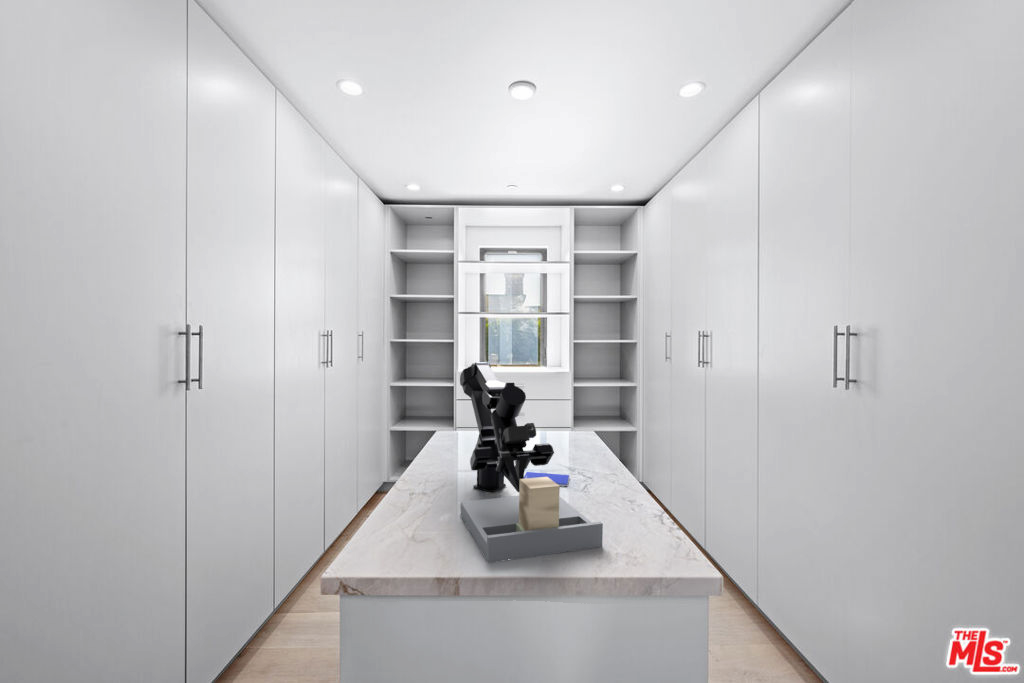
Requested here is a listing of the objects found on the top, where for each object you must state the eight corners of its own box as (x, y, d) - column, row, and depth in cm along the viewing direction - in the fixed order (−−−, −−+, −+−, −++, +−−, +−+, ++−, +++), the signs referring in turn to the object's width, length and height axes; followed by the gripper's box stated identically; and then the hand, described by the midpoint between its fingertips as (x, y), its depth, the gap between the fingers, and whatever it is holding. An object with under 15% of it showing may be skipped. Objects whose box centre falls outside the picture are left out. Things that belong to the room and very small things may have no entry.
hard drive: (521, 479, 128) (567, 483, 126) (526, 471, 136) (569, 474, 134) (521, 485, 128) (567, 489, 126) (526, 476, 136) (569, 479, 134)
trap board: (460, 514, 105) (460, 495, 105) (554, 504, 112) (554, 486, 112) (488, 562, 83) (488, 537, 83) (602, 546, 90) (602, 523, 90)
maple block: (518, 523, 93) (519, 479, 93) (546, 520, 95) (547, 476, 95) (529, 536, 87) (530, 488, 87) (558, 532, 89) (559, 485, 89)
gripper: (474, 412, 103) (486, 477, 93) (551, 409, 109) (571, 470, 99) (465, 439, 110) (475, 501, 100) (538, 435, 116) (555, 494, 106)
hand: (520, 491), depth 101 cm, fingers closed
